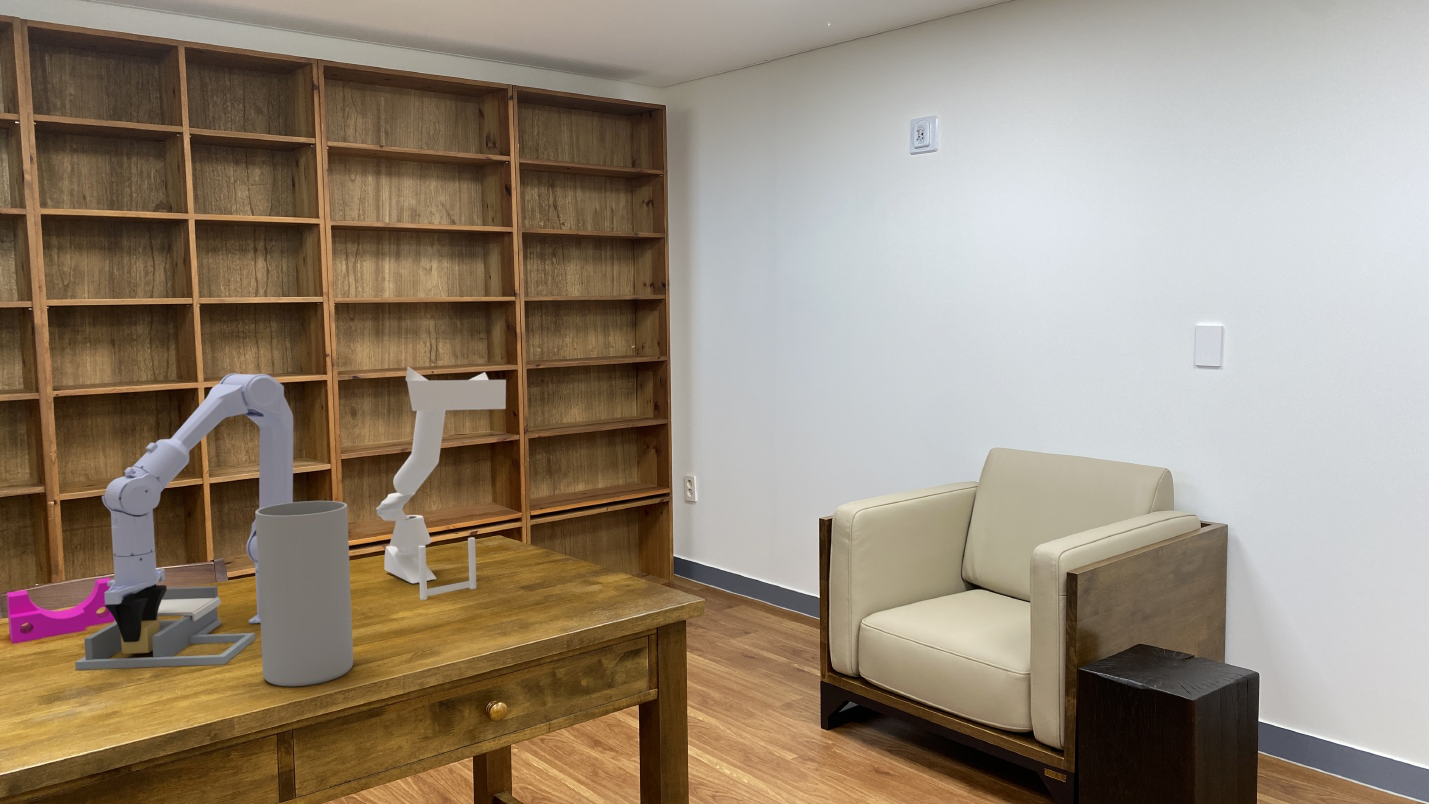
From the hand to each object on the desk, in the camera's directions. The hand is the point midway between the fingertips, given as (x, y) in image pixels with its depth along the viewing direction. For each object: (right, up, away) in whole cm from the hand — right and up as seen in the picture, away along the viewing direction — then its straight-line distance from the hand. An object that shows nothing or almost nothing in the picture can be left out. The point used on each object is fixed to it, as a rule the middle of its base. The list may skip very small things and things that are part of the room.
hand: (139, 636), depth 155 cm
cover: (-1, +1, +10) cm, 11 cm away
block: (0, -2, 0) cm, 2 cm away
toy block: (-22, -3, +15) cm, 26 cm away
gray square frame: (+5, -3, +6) cm, 8 cm away
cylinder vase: (+31, -4, -9) cm, 32 cm away
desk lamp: (+34, 0, +35) cm, 49 cm away
